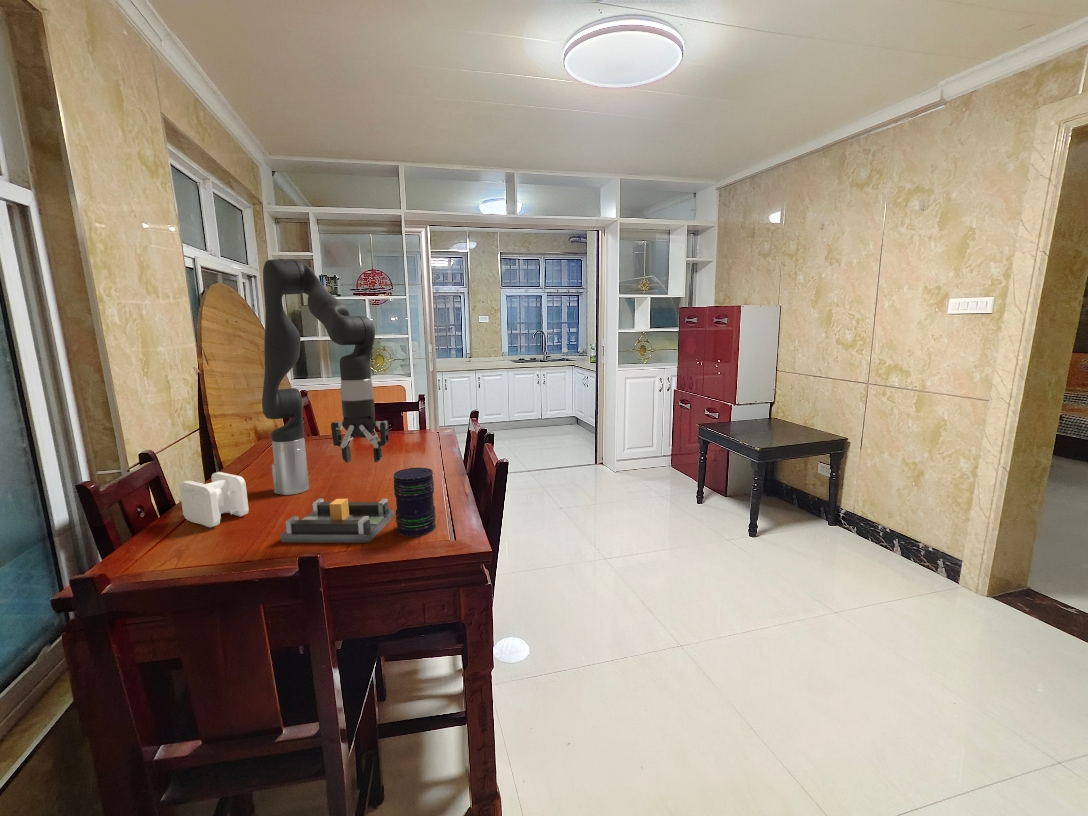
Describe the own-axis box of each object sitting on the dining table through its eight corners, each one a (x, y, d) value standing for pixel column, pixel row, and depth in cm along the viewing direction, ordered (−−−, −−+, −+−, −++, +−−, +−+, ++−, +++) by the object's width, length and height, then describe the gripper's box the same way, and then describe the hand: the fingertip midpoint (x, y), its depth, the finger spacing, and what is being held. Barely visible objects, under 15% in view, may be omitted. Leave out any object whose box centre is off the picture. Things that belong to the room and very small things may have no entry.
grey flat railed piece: (281, 542, 118) (278, 522, 117) (316, 515, 135) (315, 498, 134) (369, 542, 117) (367, 522, 116) (394, 515, 134) (392, 498, 133)
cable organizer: (252, 517, 135) (247, 477, 133) (212, 531, 126) (206, 488, 124) (221, 509, 142) (216, 470, 140) (181, 521, 133) (175, 481, 131)
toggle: (328, 523, 123) (326, 504, 123) (336, 517, 128) (334, 498, 127) (344, 523, 123) (343, 504, 122) (352, 517, 128) (350, 498, 127)
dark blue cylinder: (399, 539, 118) (395, 480, 116) (394, 525, 127) (390, 470, 125) (439, 532, 122) (436, 475, 120) (432, 518, 131) (429, 465, 129)
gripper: (321, 399, 117) (328, 465, 119) (380, 399, 116) (385, 465, 119) (336, 395, 124) (341, 458, 127) (391, 394, 124) (395, 457, 126)
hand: (362, 461), depth 123 cm, fingers open, 7 cm apart
